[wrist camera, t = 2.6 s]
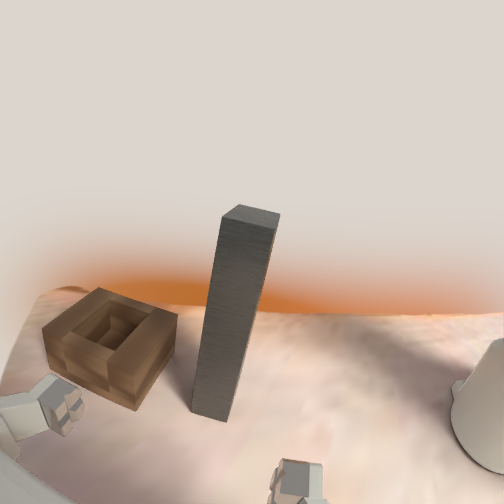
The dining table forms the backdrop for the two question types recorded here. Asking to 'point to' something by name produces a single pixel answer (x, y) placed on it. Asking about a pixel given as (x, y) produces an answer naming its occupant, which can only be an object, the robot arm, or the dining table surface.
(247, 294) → the gray rectangular bar
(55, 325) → the brown square socket block
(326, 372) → the dining table surface
